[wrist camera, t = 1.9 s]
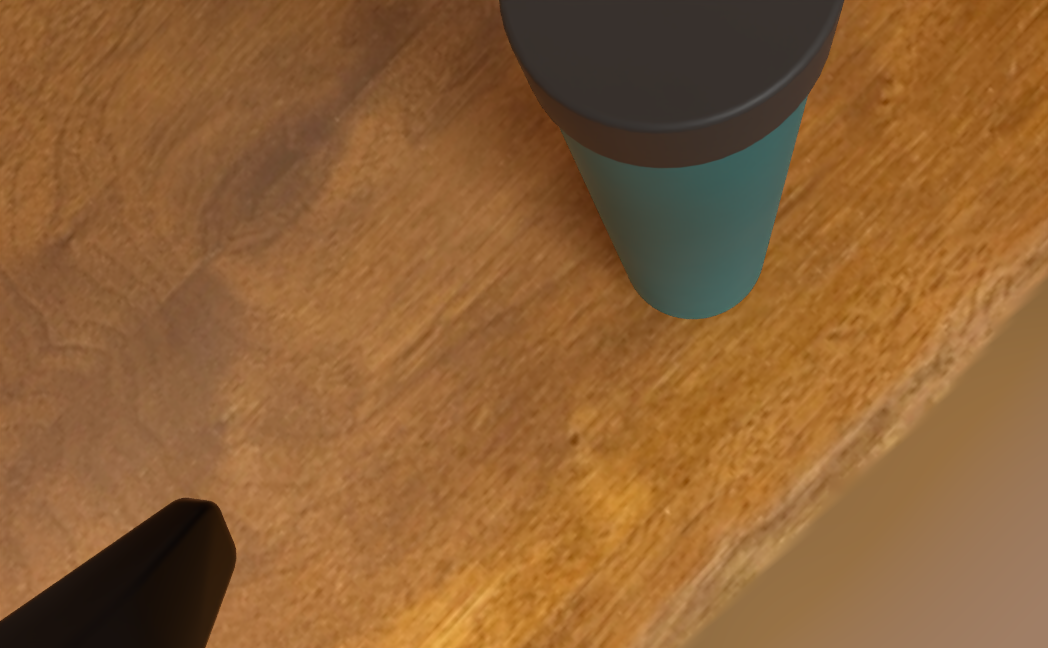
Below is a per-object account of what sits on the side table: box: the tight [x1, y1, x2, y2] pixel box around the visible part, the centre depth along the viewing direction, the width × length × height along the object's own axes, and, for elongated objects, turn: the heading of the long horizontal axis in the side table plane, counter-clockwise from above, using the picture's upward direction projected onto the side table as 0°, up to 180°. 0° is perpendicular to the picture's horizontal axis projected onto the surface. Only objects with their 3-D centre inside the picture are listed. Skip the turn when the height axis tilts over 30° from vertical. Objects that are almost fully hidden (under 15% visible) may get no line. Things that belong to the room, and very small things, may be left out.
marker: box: [499, 0, 844, 319], centre depth 15 cm, size 3×3×14 cm
